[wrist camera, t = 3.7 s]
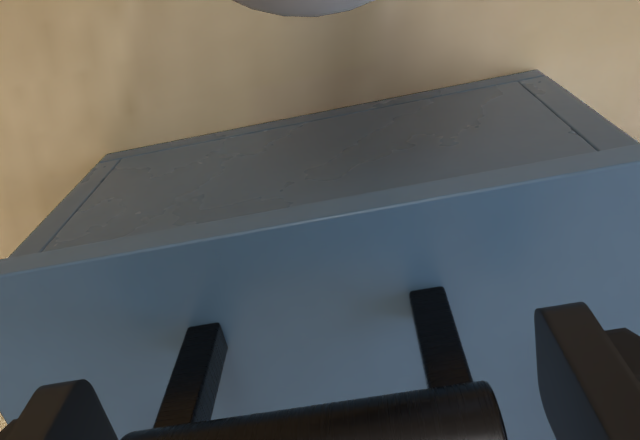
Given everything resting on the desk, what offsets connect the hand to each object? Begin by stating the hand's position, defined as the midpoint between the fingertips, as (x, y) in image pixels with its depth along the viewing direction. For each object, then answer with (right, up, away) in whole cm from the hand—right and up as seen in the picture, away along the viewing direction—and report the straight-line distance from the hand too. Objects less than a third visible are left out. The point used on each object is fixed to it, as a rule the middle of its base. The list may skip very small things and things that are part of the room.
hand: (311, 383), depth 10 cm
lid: (+1, -4, +5) cm, 7 cm away
